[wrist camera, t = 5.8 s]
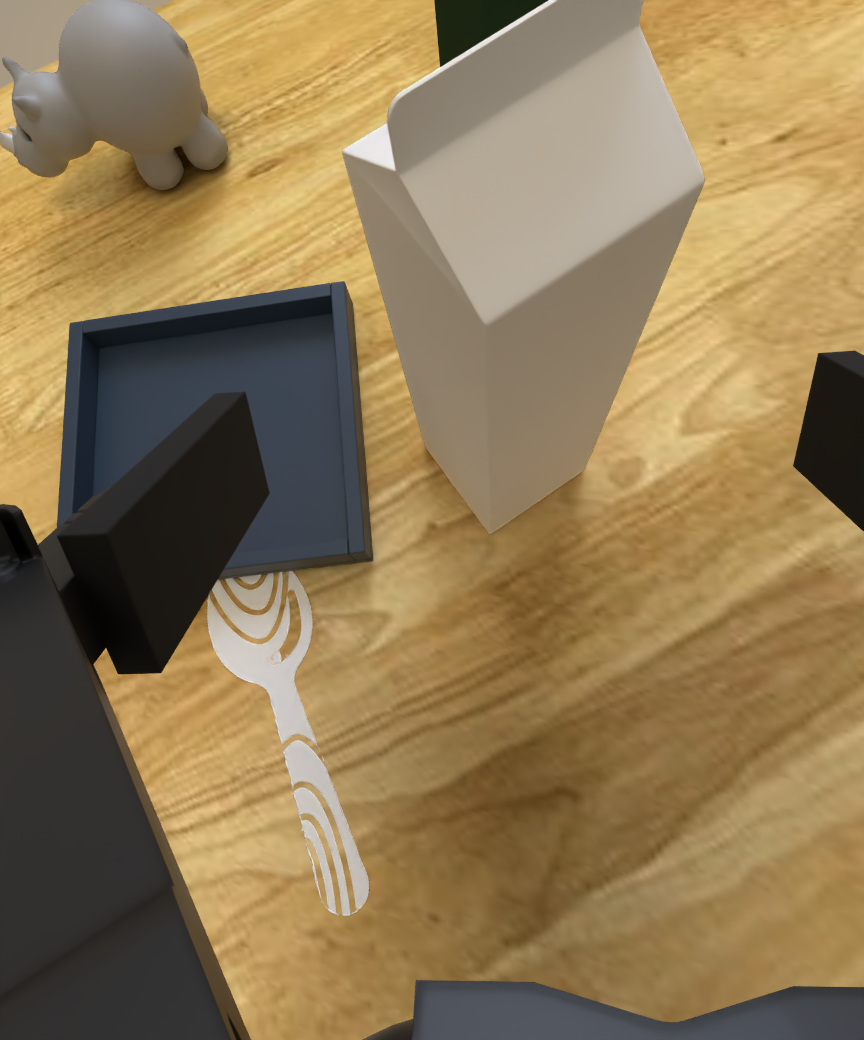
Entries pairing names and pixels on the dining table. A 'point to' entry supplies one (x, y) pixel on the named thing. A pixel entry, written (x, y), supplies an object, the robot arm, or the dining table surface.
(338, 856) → the spoon
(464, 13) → the beer bottle
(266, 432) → the tray
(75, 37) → the toy rhinoceros
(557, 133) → the milk
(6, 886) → the robot arm
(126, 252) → the dining table surface
